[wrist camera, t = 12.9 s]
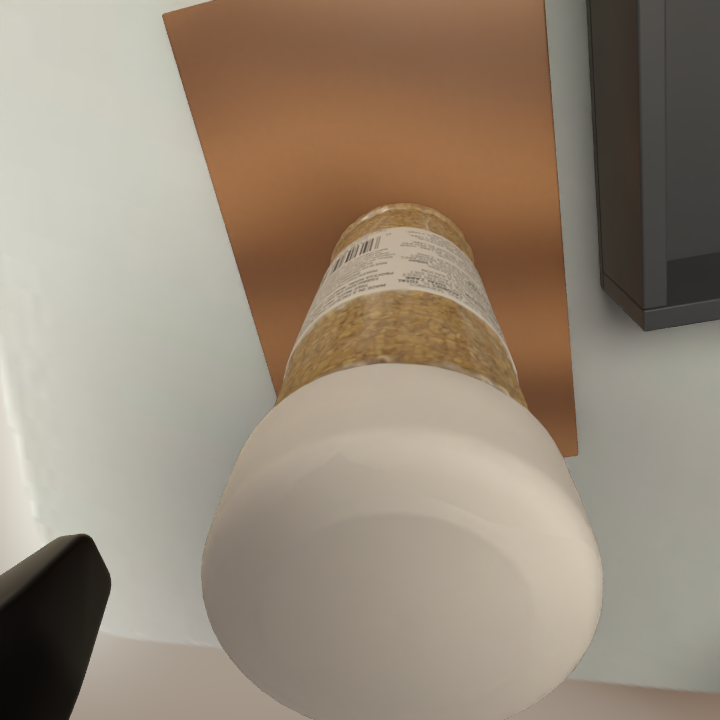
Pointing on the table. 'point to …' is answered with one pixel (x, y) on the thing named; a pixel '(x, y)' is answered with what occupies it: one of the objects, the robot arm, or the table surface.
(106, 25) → the table surface
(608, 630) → the table surface
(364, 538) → the sprinkles bottle
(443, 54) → the brown wooden board
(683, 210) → the bin
